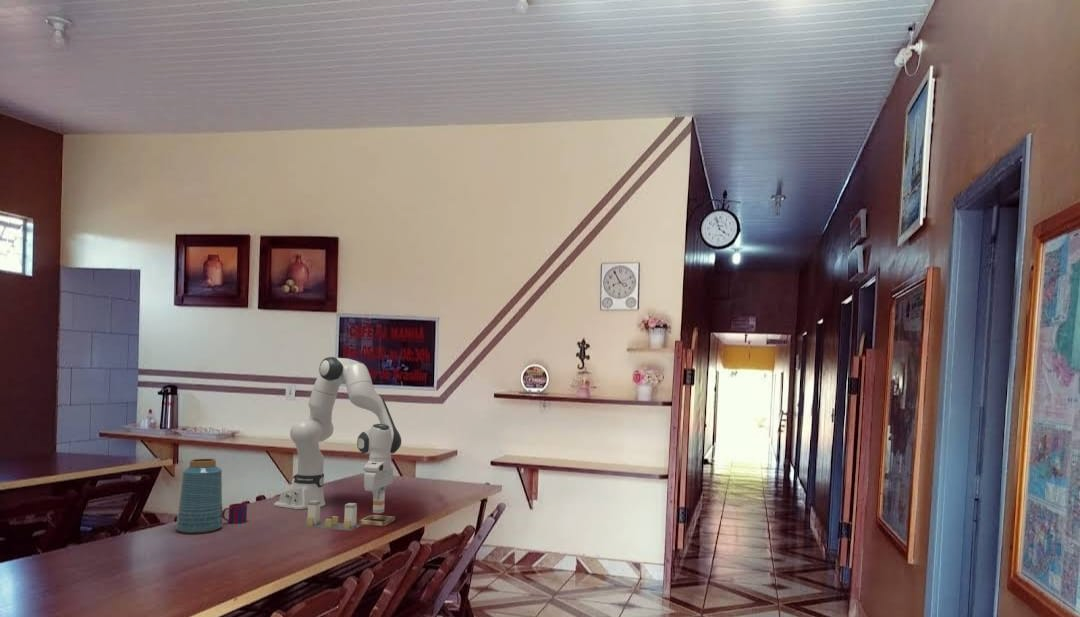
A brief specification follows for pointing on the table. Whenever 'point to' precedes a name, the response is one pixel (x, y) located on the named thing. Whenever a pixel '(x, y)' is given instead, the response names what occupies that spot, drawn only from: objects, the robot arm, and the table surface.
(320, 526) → the fuse board
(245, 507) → the mug
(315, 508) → the block
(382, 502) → the fuse marked
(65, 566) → the table surface
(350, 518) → the fuse right
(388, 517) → the tray
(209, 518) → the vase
